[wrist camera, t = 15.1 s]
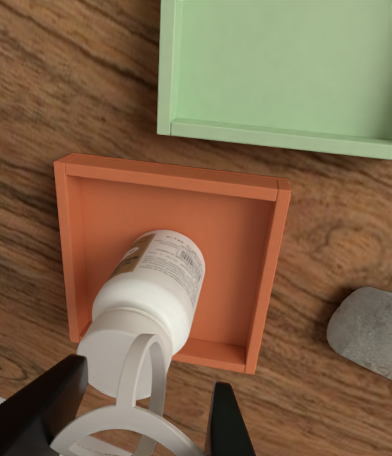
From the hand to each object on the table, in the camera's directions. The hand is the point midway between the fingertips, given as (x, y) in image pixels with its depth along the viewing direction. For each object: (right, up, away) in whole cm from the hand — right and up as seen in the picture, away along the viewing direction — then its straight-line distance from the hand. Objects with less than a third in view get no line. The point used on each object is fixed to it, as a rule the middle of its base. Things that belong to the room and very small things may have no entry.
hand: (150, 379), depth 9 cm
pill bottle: (0, +2, +11) cm, 11 cm away
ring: (0, 0, +1) cm, 1 cm away
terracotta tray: (0, +2, +11) cm, 11 cm away
